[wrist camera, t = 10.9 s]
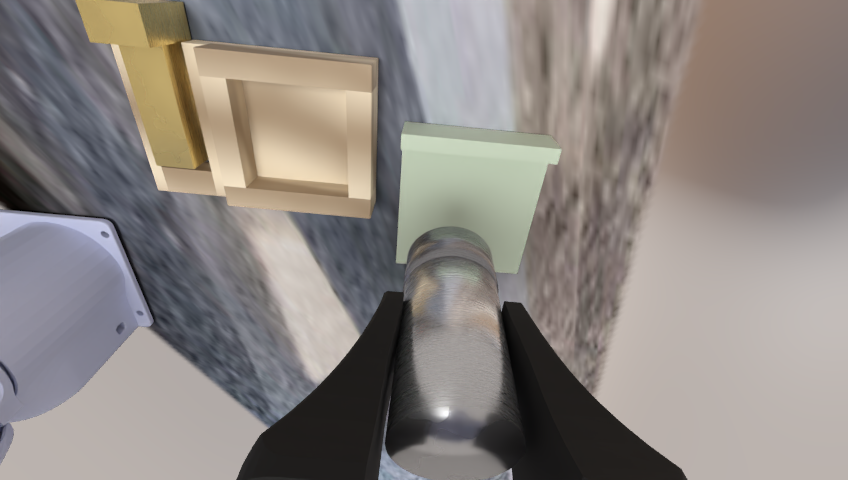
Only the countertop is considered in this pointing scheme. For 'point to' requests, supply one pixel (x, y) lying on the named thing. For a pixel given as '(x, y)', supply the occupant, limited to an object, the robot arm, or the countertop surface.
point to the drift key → (153, 71)
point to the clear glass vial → (453, 365)
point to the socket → (278, 128)
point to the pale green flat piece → (472, 185)
